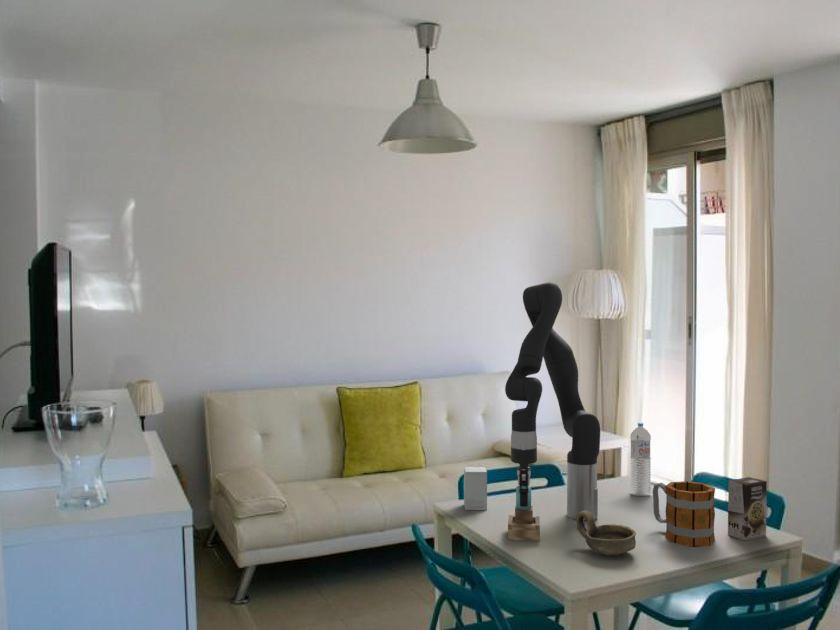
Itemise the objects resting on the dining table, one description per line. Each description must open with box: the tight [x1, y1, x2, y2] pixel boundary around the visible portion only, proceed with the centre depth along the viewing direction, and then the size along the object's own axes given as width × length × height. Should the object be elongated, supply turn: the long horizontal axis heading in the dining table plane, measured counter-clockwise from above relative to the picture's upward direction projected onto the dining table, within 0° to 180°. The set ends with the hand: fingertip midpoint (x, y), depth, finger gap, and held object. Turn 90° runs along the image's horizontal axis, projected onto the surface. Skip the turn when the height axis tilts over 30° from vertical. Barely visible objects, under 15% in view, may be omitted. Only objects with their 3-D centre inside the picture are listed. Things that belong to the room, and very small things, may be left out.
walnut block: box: [514, 505, 534, 524], centre depth 219 cm, size 5×5×5 cm
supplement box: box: [463, 466, 488, 511], centre depth 248 cm, size 7×7×13 cm
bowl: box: [575, 510, 637, 556], centre depth 205 cm, size 14×18×10 cm
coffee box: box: [727, 476, 768, 541], centre depth 218 cm, size 9×6×16 cm
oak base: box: [507, 514, 541, 542], centre depth 219 cm, size 9×9×4 cm
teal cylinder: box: [515, 485, 532, 510], centre depth 219 cm, size 4×4×6 cm
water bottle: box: [629, 422, 652, 497], centre depth 263 cm, size 7×7×25 cm
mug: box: [652, 480, 716, 548], centre depth 218 cm, size 20×14×15 cm
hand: (523, 503), depth 219 cm, fingers open, 5 cm apart
